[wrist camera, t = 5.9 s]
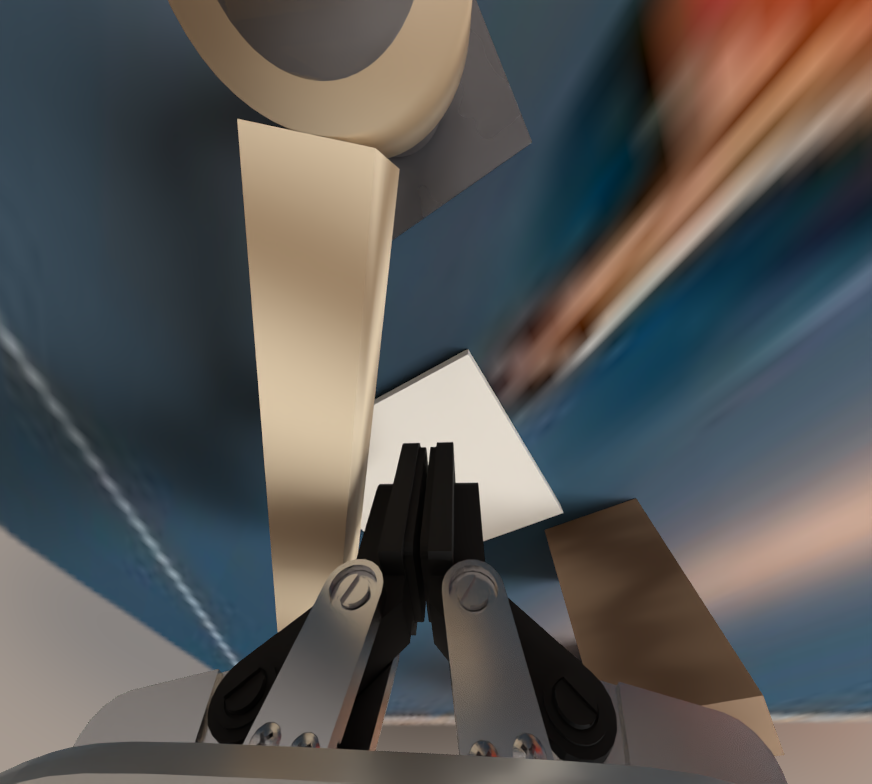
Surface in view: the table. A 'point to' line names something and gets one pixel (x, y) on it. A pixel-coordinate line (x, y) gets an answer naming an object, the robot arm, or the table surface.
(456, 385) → the tile
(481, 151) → the pivot plate
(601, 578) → the walnut block
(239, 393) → the table surface
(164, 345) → the table surface
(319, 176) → the swing arm
